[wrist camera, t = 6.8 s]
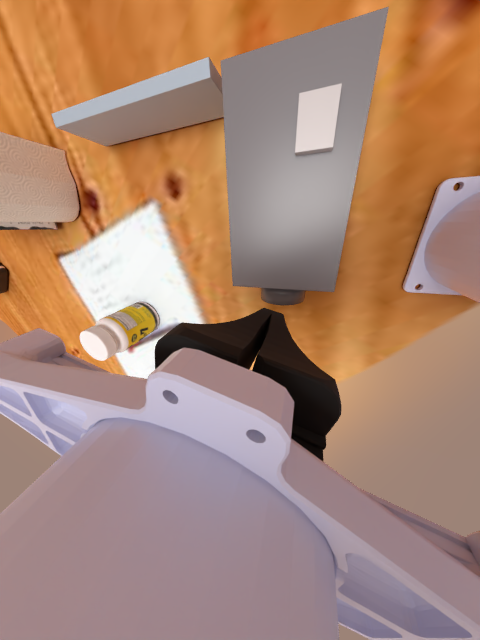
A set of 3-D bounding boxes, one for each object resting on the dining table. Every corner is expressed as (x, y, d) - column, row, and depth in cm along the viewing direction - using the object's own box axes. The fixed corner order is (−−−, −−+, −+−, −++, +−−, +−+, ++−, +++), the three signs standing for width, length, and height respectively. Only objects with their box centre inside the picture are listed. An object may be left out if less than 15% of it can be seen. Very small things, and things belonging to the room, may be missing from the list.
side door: (235, 114, 15) (210, 77, 11) (106, 146, 19) (56, 127, 16) (234, 85, 14) (206, 35, 11) (100, 124, 19) (46, 99, 15)
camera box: (362, 79, 13) (393, -8, 8) (325, 292, 19) (331, 315, 14) (246, 106, 15) (216, 52, 10) (248, 287, 21) (231, 305, 17)
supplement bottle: (152, 335, 30) (103, 369, 23) (129, 313, 30) (72, 342, 22) (165, 318, 28) (115, 351, 20) (141, 294, 27) (80, 320, 20)
